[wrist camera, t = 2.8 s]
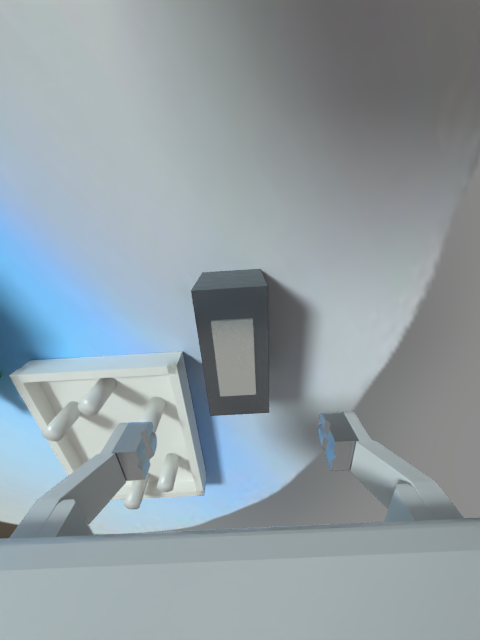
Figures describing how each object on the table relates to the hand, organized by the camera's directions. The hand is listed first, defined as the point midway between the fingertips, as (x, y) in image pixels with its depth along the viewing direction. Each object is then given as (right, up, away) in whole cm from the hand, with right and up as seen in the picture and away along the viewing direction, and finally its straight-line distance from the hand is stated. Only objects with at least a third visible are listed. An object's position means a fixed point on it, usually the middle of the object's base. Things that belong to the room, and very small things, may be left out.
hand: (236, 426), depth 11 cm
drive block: (0, +5, +9) cm, 10 cm away
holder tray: (-11, -6, +13) cm, 19 cm away
